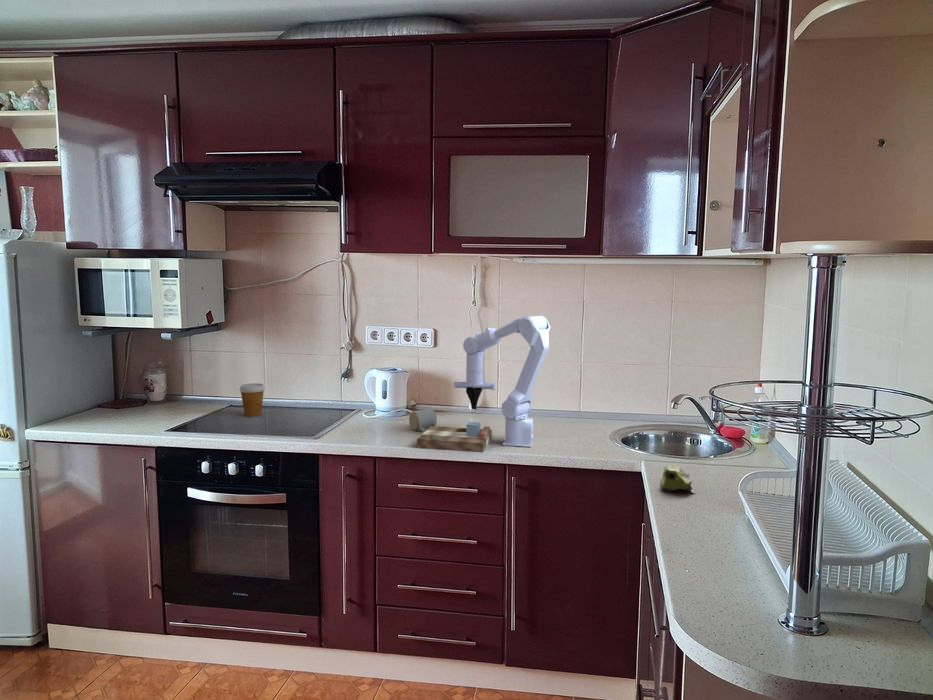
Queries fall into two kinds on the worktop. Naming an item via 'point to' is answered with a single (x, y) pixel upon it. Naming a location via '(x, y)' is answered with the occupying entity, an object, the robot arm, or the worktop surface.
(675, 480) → the fruit
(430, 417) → the ceramic mug
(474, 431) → the block
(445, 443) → the trap board
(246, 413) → the disposable coffee cup
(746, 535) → the worktop surface
